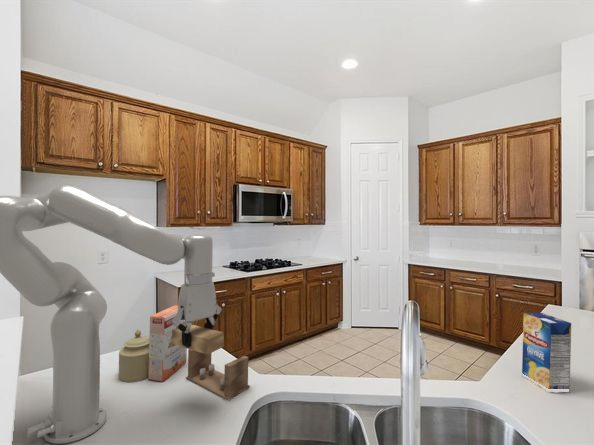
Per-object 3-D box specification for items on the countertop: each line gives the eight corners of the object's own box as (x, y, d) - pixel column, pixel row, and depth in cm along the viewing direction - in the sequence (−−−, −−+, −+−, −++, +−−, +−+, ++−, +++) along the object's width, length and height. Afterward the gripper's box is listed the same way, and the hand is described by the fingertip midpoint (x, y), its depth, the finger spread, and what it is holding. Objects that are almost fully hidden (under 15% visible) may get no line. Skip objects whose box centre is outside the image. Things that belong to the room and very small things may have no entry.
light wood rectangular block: (171, 343, 89) (171, 329, 89) (188, 336, 94) (188, 323, 94) (207, 354, 82) (207, 339, 82) (223, 346, 87) (223, 332, 87)
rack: (227, 400, 90) (228, 367, 90) (185, 378, 102) (186, 349, 102) (249, 387, 97) (250, 356, 97) (208, 368, 109) (208, 341, 109)
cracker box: (164, 382, 99) (165, 317, 99) (147, 380, 100) (148, 315, 100) (187, 363, 113) (189, 305, 113) (172, 361, 114) (173, 304, 114)
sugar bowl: (129, 362, 113) (130, 320, 113) (162, 360, 115) (162, 319, 115) (112, 383, 98) (113, 336, 98) (150, 381, 100) (150, 334, 100)
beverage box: (549, 393, 98) (550, 323, 97) (521, 375, 109) (523, 312, 108) (569, 393, 98) (571, 323, 98) (540, 375, 109) (542, 312, 109)
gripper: (215, 273, 97) (214, 330, 97) (162, 281, 83) (161, 348, 84) (231, 276, 93) (230, 336, 93) (178, 285, 79) (177, 356, 79)
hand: (197, 341), depth 88 cm, fingers closed on light wood rectangular block, 6 cm apart
